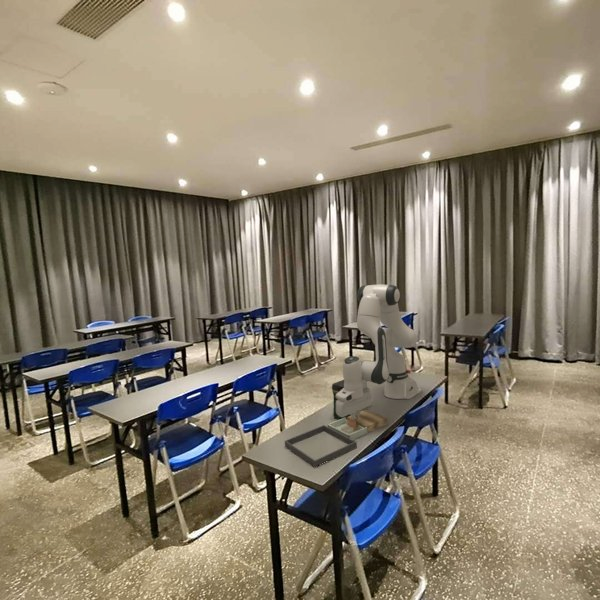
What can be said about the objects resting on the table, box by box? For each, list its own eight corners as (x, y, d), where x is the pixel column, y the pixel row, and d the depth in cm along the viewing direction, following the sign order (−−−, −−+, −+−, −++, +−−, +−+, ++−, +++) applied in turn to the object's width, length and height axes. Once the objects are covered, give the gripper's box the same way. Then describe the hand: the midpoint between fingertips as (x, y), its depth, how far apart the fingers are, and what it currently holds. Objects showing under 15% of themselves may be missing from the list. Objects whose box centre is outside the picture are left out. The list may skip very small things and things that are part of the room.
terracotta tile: (350, 418, 171) (346, 420, 170) (356, 421, 168) (352, 422, 166) (350, 426, 171) (347, 428, 170) (356, 429, 168) (353, 431, 167)
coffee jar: (342, 421, 178) (340, 385, 176) (331, 417, 184) (328, 382, 182) (355, 415, 185) (353, 380, 183) (343, 411, 191) (341, 377, 189)
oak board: (365, 415, 184) (365, 409, 183) (386, 423, 172) (386, 417, 172) (346, 423, 176) (346, 417, 176) (367, 432, 165) (366, 426, 165)
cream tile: (341, 427, 167) (341, 431, 167) (347, 430, 164) (347, 434, 164) (347, 424, 170) (347, 428, 170) (353, 427, 166) (353, 431, 166)
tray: (345, 423, 177) (344, 417, 176) (367, 433, 164) (367, 427, 164) (328, 430, 170) (327, 424, 170) (349, 442, 158) (349, 435, 158)
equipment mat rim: (324, 429, 171) (324, 424, 171) (356, 447, 153) (356, 441, 153) (285, 446, 159) (284, 440, 159) (315, 467, 141) (314, 461, 140)
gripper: (364, 384, 177) (366, 411, 178) (332, 395, 166) (334, 424, 167) (374, 387, 172) (376, 415, 173) (341, 399, 160) (344, 429, 162)
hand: (355, 419), depth 170 cm, fingers closed
